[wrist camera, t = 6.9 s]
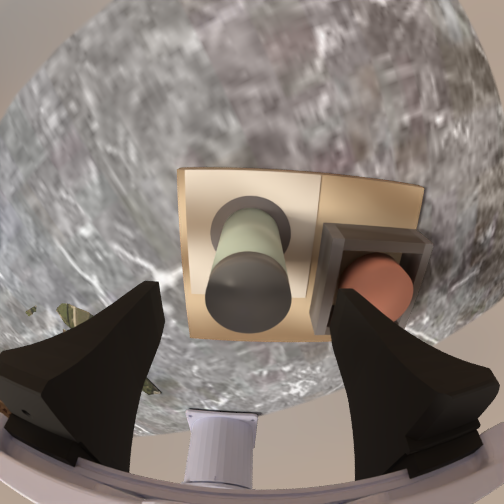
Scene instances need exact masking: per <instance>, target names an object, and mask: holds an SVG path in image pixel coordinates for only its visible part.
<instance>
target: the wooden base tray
mask: <svg viewBox="0 0 504 504" xmlns="http://www.w3.org/2000/svg"><path fill="white" fill-rule="evenodd" d="M177 186H178V209H179V227H180V242H181V256H182V267H183V278H184V289H185V298H186V307H187V316H188V324H189V332H190V338H199V339H213V340H231V341H257V342H327V341H331V335H330V328H329V327H330V323H331V319H332V315H333V311H334V306H335V302H336V298H337V293H338V283H339V280H340V277H341V275H342V273H343V272H344V270H345V269H346V268H347V267H348V265H349V264H351V263H352V262H353V261H354V260H356V259H357V258H359V257H361V256H363V255H365V254H369V253H374V252H379V253H385V254H388V255H390V256H391V257H393V258H394V259H395V260H396V261H397V262H398V264H399V265H400V266H401V267H402V268H403V270H404V271H405V272H406V273H407V274H408V276H409V277H410V278H411V281H412V284H413V296H412V299H411V302H410V304H409V306H408V308H407V309H406V311H405V312H404V313H403V314H402V315H401V316H400V317H399V318H398V319H397V320H396V321H394V322H395V323H396V324H397V325H399V326H400V327H402V328H403V329H405V326H406V324H407V322H408V319H409V317H410V314H411V312H412V309H413V306H414V304H415V301H416V298H417V296H418V293H419V290H420V287H421V284H422V281H423V278H424V275H425V272H426V269H427V266H428V263H429V259H430V256H431V253H432V249H433V245H434V244H433V243H432V242H431V241H430V240H428V239H427V238H426V237H425V236H424V235H422V234H421V233H420V232H419V231H417V230H416V227H417V223H418V219H419V214H420V209H421V204H422V199H423V194H424V188H423V187H421V186H419V185H414V184H408V183H402V182H395V181H389V180H382V179H374V178H366V177H358V176H350V175H340V174H330V173H320V172H308V171H294V170H278V169H257V168H220V167H187V168H179V169H177ZM244 208H257V209H260V210H263V211H265V212H267V213H268V214H269V215H270V216H272V218H273V219H274V220H275V222H276V224H277V226H278V230H279V235H280V240H281V244H282V249H283V254H284V259H285V264H286V269H287V274H288V279H289V284H290V290H291V296H292V302H291V307H290V310H289V312H288V314H287V315H286V317H285V318H284V319H283V320H282V321H281V322H280V323H279V324H278V325H276V326H275V327H273V328H271V329H269V330H267V331H264V332H260V333H253V334H245V333H238V332H234V331H231V330H229V329H226V328H224V327H223V326H221V325H220V324H218V323H217V322H216V321H215V320H214V319H213V318H212V317H211V315H210V314H209V312H208V310H207V307H206V304H205V292H206V287H207V284H208V280H209V276H210V273H211V269H212V265H213V261H214V258H215V254H216V251H217V247H218V243H219V240H220V236H221V233H222V229H223V226H224V223H225V222H226V220H227V219H228V217H229V216H230V215H231V214H233V213H234V212H236V211H238V210H240V209H244Z"/></svg>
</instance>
